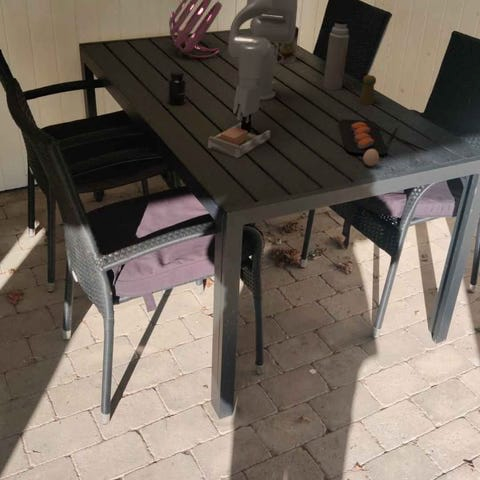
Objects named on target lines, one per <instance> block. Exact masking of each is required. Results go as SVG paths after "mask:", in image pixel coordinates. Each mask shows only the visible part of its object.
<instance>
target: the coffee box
mask: <svg viewBox="0 0 480 480" xmlns="http://www.w3.org/2000/svg"><path fill="white" fill-rule="evenodd" d="M298 39H299V27H297V26H296V29H295V36H294V39H293V41H292V42H291V43H276V42H274V47H273V49H274V53H275V57H274V63H276V64H296V57H297V48H298Z"/></svg>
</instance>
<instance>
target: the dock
mask: <svg viewBox="0 0 480 480" xmlns="http://www.w3.org/2000/svg"><path fill="white" fill-rule="evenodd" d="M232 127H237V128H240V129H241V122H239V123H237V124H236V125H234V126H232ZM232 127H230V128H228V129H226V130H225V131H227V130H229V129H231V128H232ZM225 131H222V132H221V133H223V132H225ZM221 133H219V134H217V135H214V136H211V135H210V136H209V137H208V145H207V148H208V149H210V150H213V151H216V152H219V153H222V154H225V155H227V156H231V157H234V158H237V159H238V158H240V157H242V156H244V155H245V154H247V153H248V152H251V150H253V149H255V148H257V147H258V146H260V145H261V144H264V143H265V142H267V141H269V140H270V138H271V130H266V131H264V132H263V133H260V134H259V135H257V134H254V133H251V132H250V133H248V134H247V140H246V142H245V143H240V144H239V145H235V144H232V143H229V142H226V141H223V140H220V139H221Z"/></svg>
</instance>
